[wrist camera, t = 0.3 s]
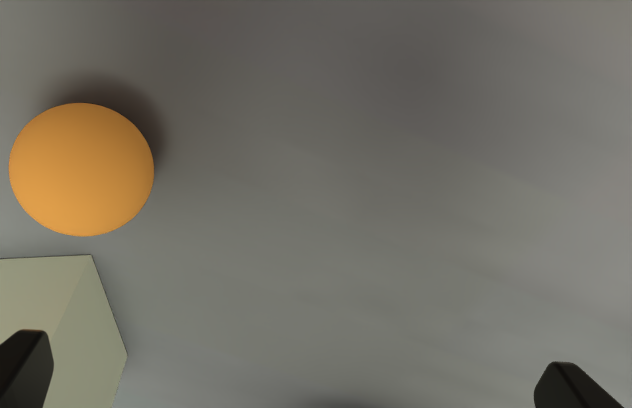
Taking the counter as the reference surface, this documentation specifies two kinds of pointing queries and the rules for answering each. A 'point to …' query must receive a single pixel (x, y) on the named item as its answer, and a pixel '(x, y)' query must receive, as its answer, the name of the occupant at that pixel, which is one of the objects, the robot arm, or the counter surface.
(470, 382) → the counter surface
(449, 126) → the counter surface
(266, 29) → the counter surface
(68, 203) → the ball
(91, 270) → the sage green cuboid
